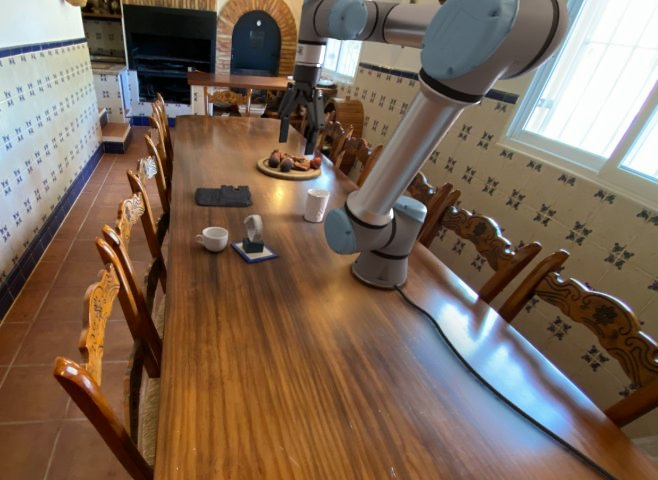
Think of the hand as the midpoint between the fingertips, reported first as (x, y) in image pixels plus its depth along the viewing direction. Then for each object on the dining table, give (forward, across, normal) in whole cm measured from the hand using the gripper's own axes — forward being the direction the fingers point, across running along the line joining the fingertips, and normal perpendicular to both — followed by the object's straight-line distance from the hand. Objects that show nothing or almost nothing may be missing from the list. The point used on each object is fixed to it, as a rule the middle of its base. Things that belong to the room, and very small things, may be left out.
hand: (294, 148), depth 109 cm
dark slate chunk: (+27, -31, -8) cm, 42 cm away
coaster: (+27, +10, -18) cm, 33 cm away
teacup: (+27, +3, -29) cm, 40 cm away
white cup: (+27, -3, +16) cm, 31 cm away
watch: (+26, +10, -18) cm, 33 cm away
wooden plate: (+27, -54, +40) cm, 72 cm away
